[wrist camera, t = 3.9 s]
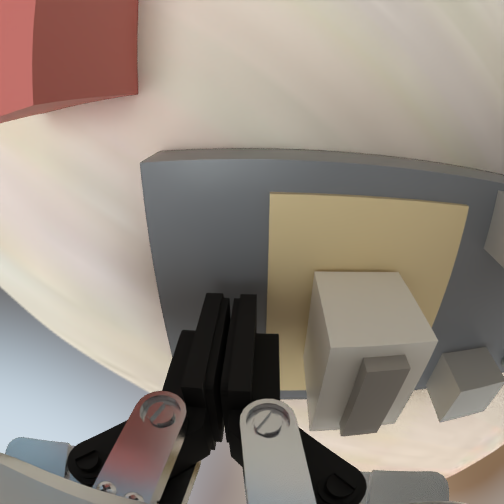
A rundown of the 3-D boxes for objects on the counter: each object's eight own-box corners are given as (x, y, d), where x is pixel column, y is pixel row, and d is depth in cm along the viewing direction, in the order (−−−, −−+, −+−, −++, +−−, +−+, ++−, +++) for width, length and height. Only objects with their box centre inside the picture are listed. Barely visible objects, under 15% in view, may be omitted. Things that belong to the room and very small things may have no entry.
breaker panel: (562, 190, 10) (617, 225, 6) (502, 348, 15) (531, 396, 11) (159, 150, 11) (103, 185, 7) (189, 365, 16) (172, 435, 12)
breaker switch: (398, 272, 10) (445, 353, 7) (373, 354, 12) (397, 434, 8) (314, 271, 10) (333, 362, 7) (303, 356, 12) (310, 443, 9)
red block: (139, -13, 8) (49, -69, 3) (138, 94, 10) (33, 105, 5) (45, 17, 8) (-60, 6, 3) (45, 112, 10) (-64, 144, 5)
